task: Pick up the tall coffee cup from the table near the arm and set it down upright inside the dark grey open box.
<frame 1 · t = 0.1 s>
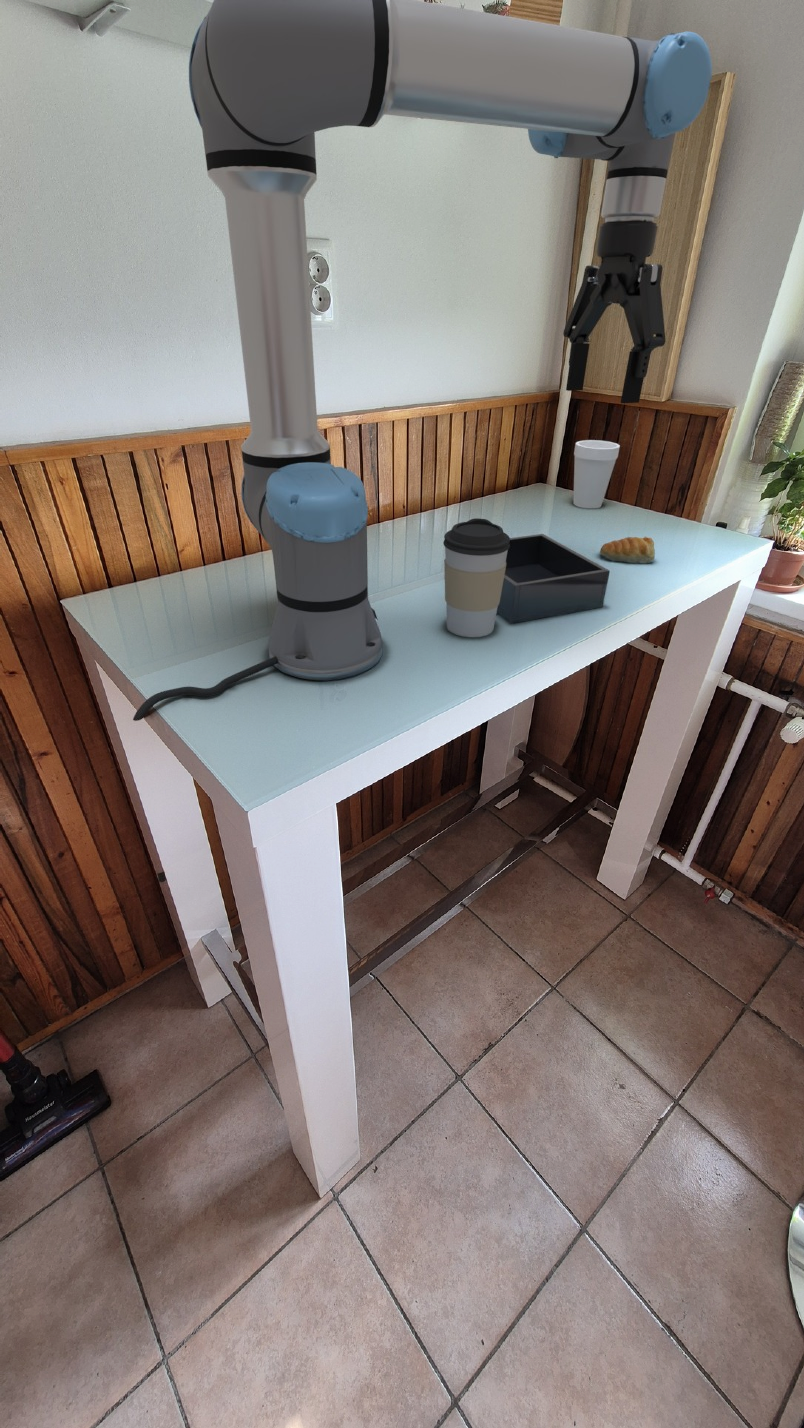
hand: (600, 396, 98), 28 cm above the table, tool pointing down, fingers open, 13 cm apart
coffee cup: (469, 628, 95), on the table
pastry: (628, 559, 120), on the table
dark grey open box: (526, 592, 106), on the table
foam cup: (587, 505, 149), on the table
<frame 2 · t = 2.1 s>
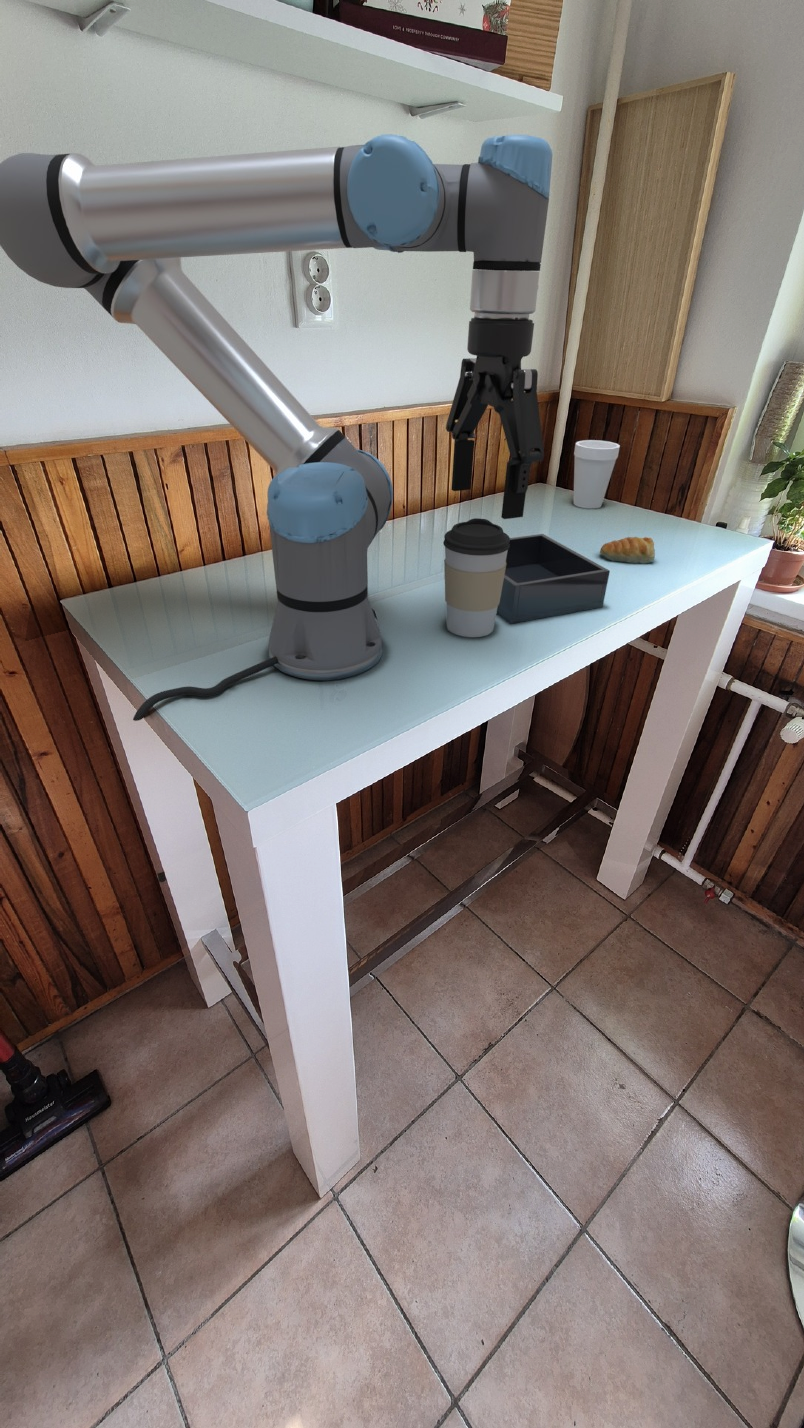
hand: (485, 502, 86), 18 cm above the table, tool pointing down, fingers open, 13 cm apart
nothing on the table moved.
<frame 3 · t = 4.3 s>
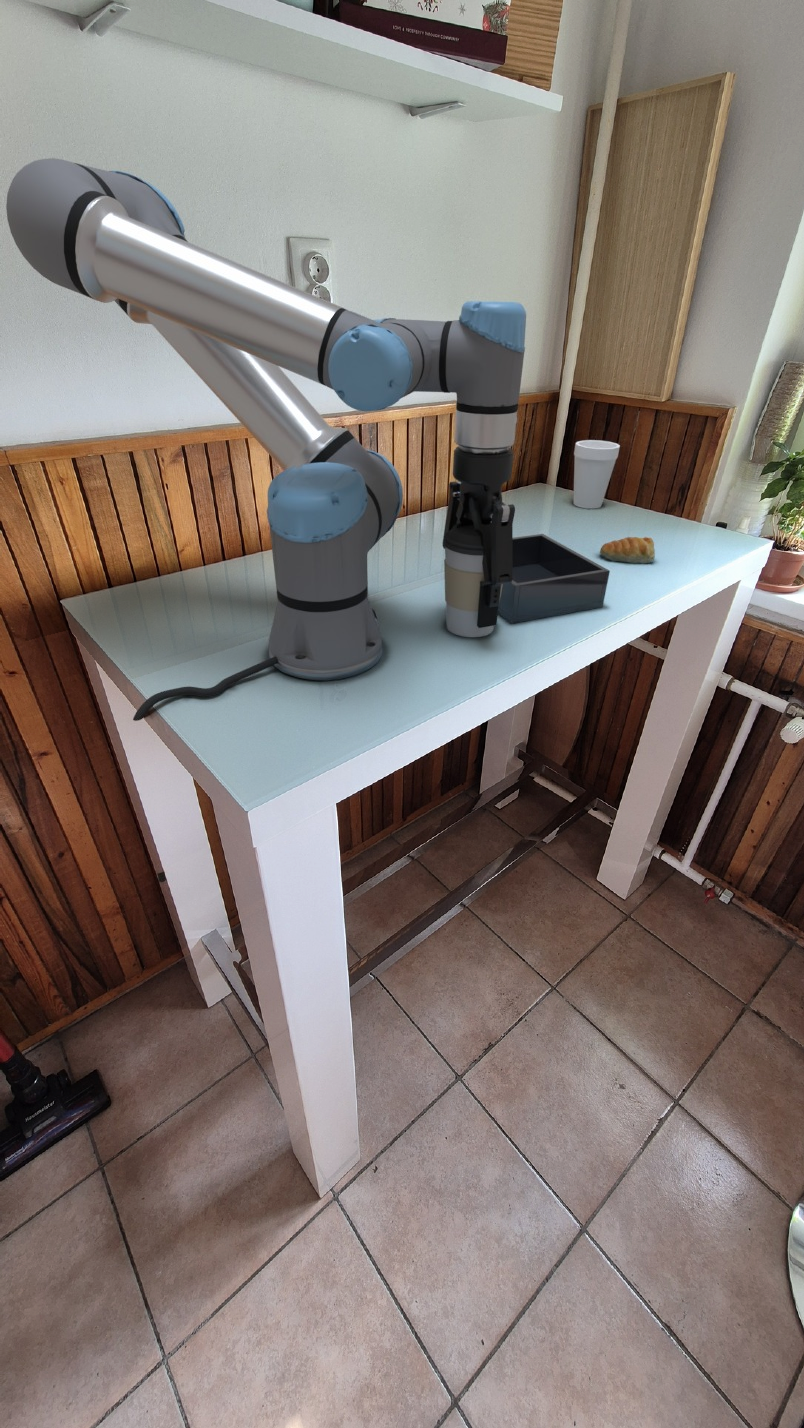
hand: (471, 612, 93), 2 cm above the table, tool pointing down, fingers closed on coffee cup, 9 cm apart
coffee cup: (469, 628, 95), on the table, touching gripper
everything else where it was.
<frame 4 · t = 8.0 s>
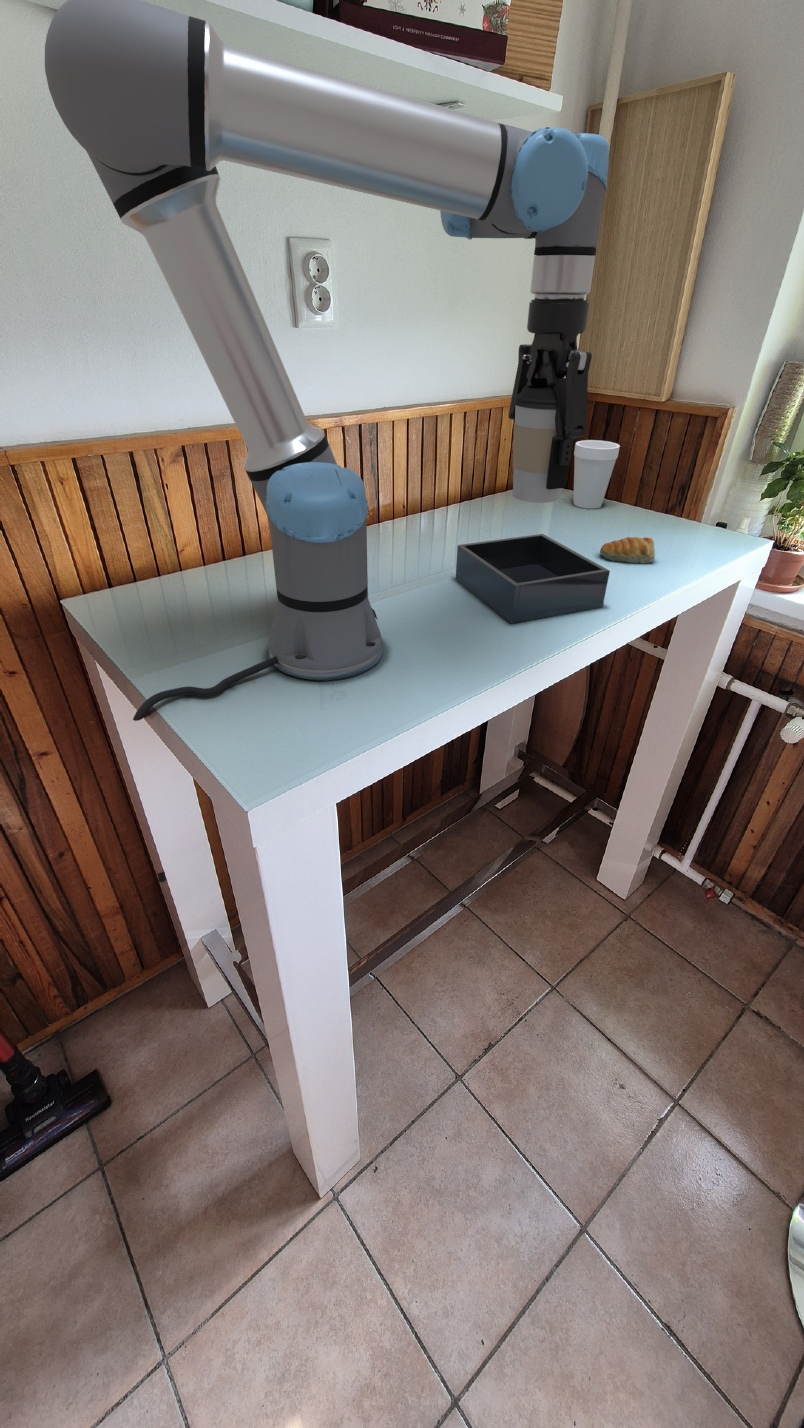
hand: (537, 480, 95), 18 cm above the table, tool pointing down, fingers closed on coffee cup, 9 cm apart
coffee cup: (535, 497, 96), point 16 cm above the table, touching gripper
everything else where it was.
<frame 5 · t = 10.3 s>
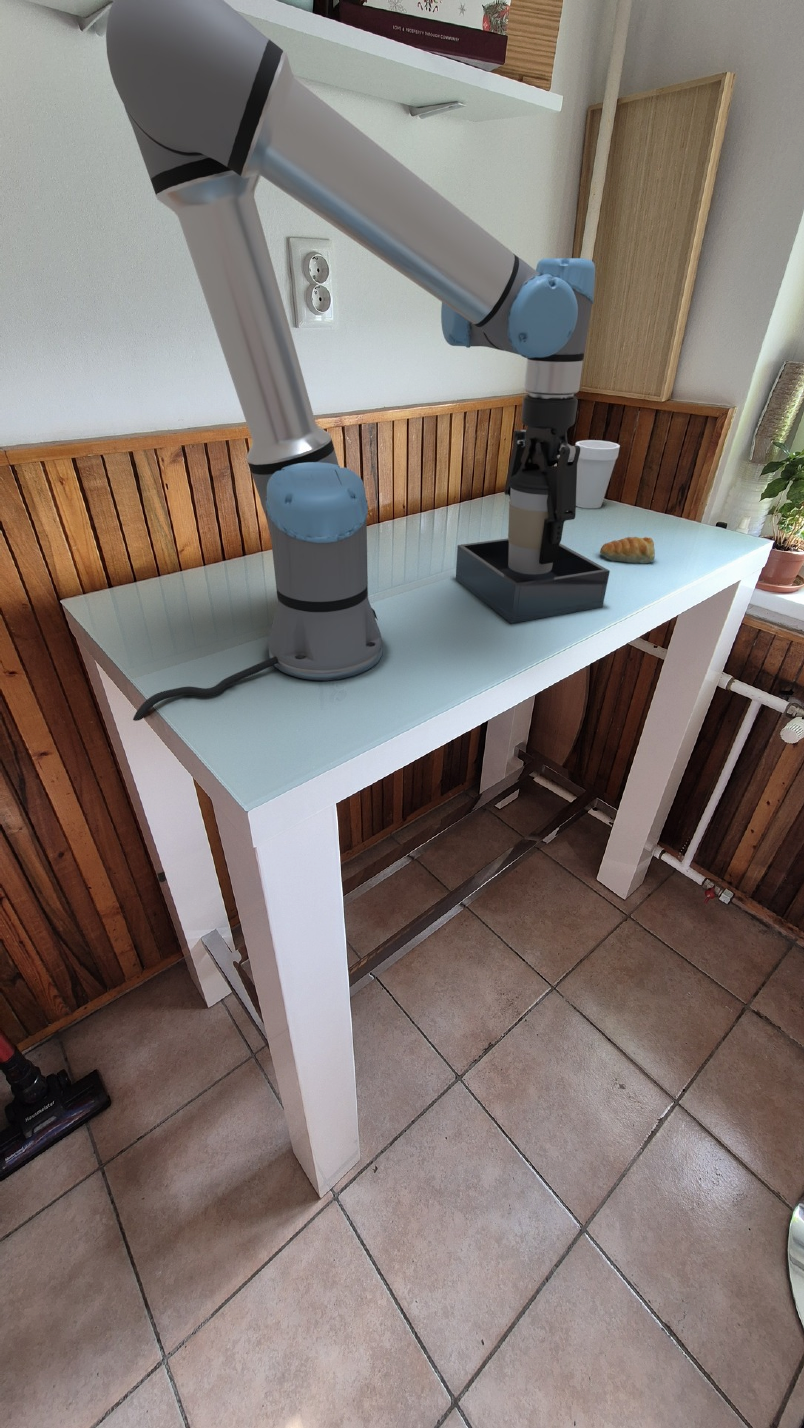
hand: (531, 552, 102), 7 cm above the table, tool pointing down, fingers closed on coffee cup, 9 cm apart
coffee cup: (529, 567, 103), point 4 cm above the table, touching gripper
everything else where it was.
when the fingers open (3 cm above the table, at t = 11.8 s): coffee cup stays where it is, resting on dark grey open box.
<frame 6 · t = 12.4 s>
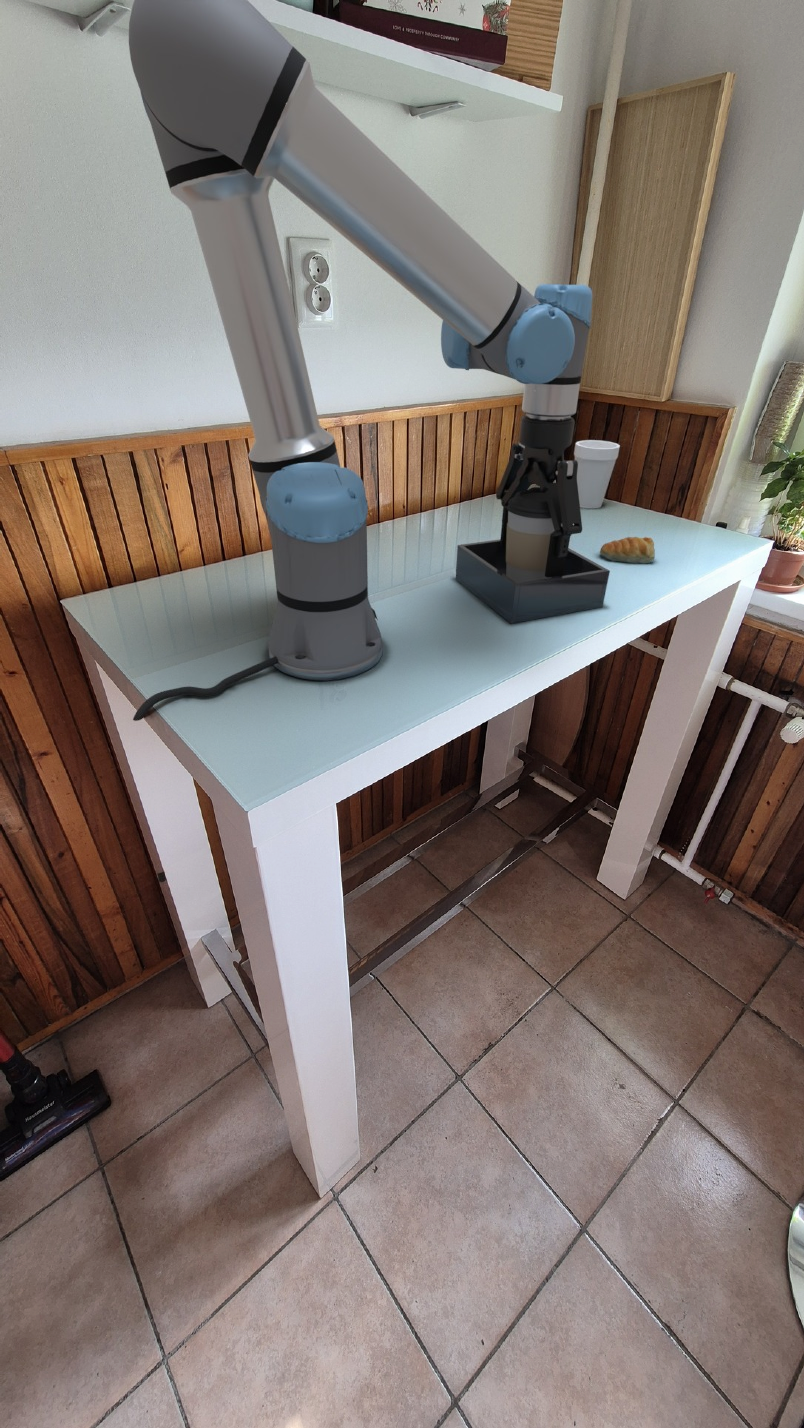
hand: (529, 560, 103), 5 cm above the table, tool pointing down, fingers open, 13 cm apart
coffee cup: (526, 587, 105), point 1 cm above the table, touching dark grey open box
everything else where it was.
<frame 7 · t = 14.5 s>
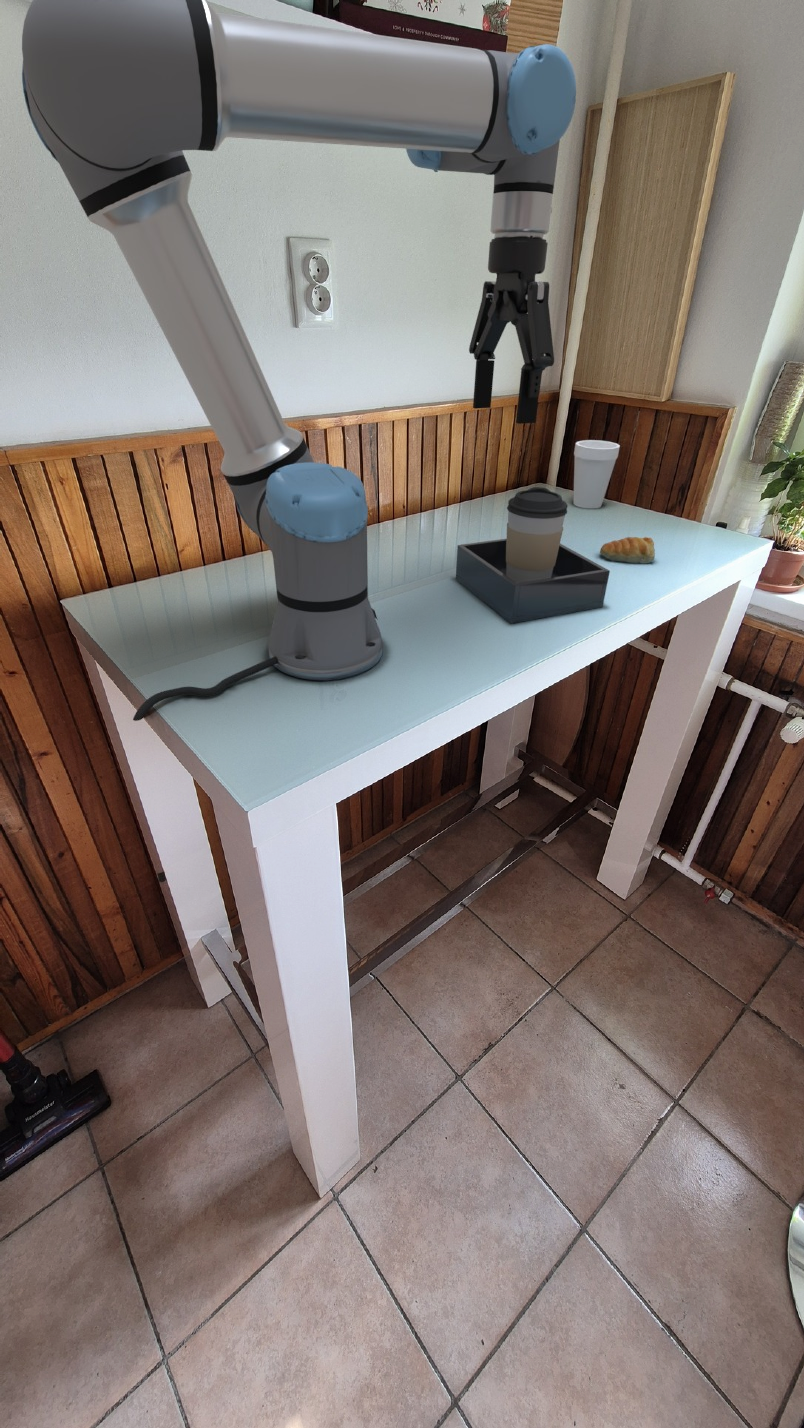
hand: (502, 415, 95), 26 cm above the table, tool pointing down, fingers open, 13 cm apart
nothing on the table moved.
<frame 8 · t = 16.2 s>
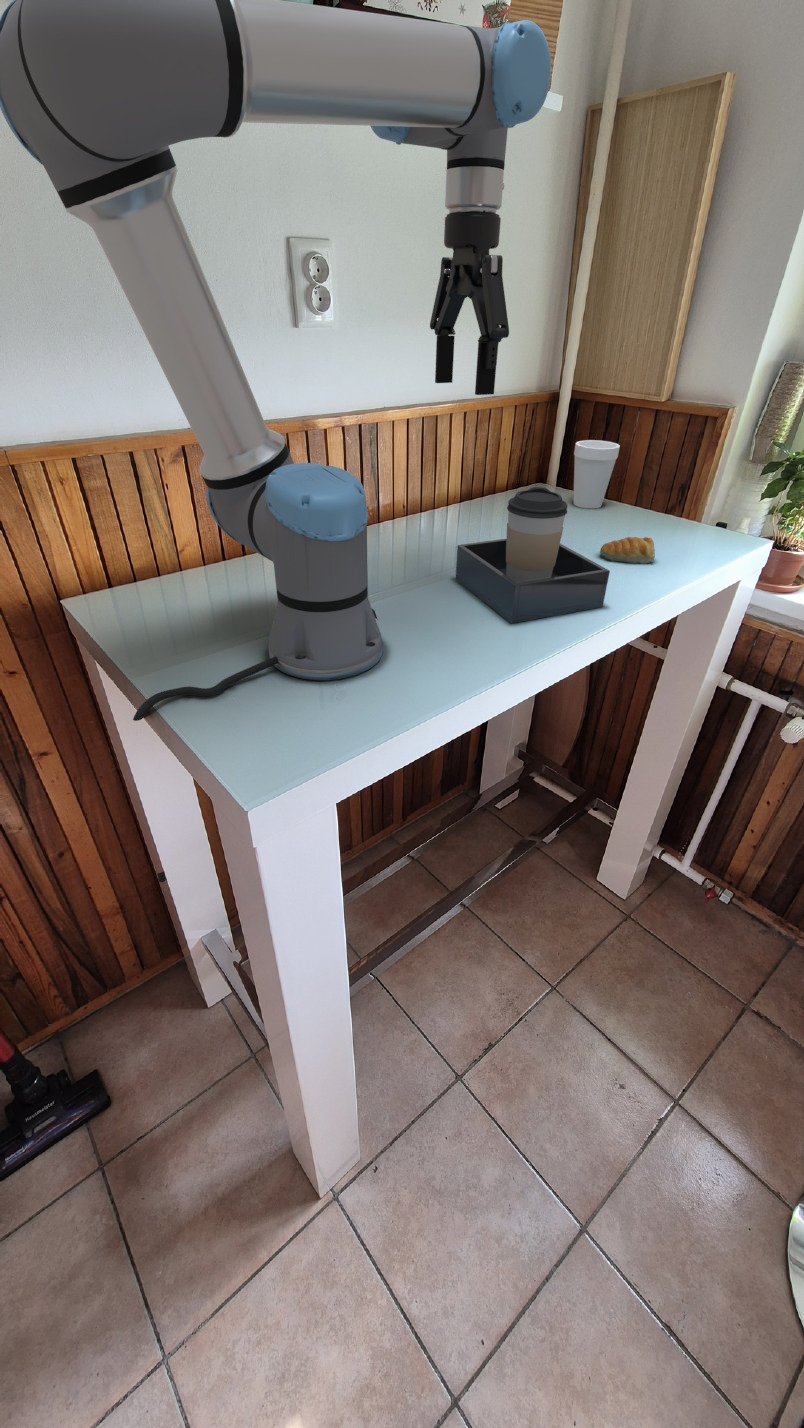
hand: (462, 388, 98), 29 cm above the table, tool pointing down, fingers open, 13 cm apart
nothing on the table moved.
at the end: coffee cup inside the target area in the dark grey open box (0.1 cm from its centre), point 0.8 cm above the dark grey open box's base; coffee cup tilted 0°; the gripper is holding nothing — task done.
